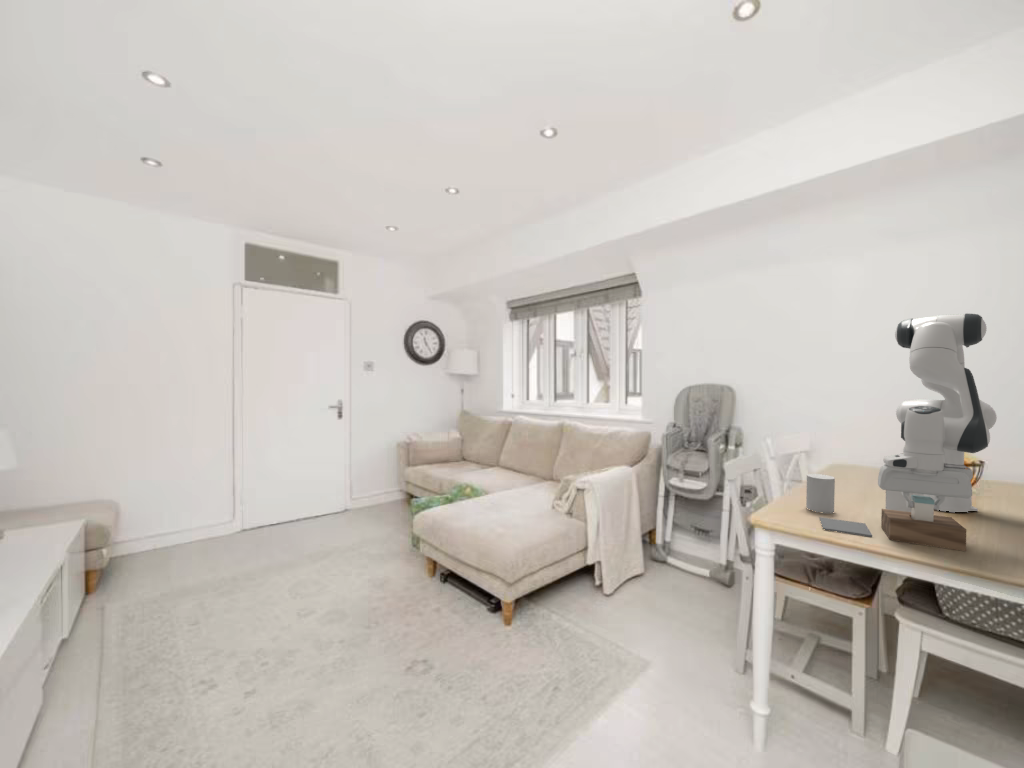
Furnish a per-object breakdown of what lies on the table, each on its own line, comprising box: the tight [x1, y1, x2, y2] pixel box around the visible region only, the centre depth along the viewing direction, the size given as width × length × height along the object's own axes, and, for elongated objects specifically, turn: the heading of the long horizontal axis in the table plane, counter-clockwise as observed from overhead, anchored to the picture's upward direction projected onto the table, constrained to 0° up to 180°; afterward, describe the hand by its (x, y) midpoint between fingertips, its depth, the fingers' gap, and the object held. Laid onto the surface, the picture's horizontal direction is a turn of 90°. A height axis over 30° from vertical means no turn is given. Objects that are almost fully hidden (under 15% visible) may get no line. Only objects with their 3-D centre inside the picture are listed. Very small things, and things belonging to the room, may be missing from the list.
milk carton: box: [885, 490, 924, 512], centre depth 145 cm, size 7×7×19 cm
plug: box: [911, 495, 935, 522], centre depth 129 cm, size 4×4×11 cm
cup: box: [805, 473, 836, 514], centre depth 156 cm, size 8×8×12 cm
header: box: [880, 508, 967, 552], centre depth 129 cm, size 12×16×6 cm
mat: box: [819, 516, 873, 538], centre depth 138 cm, size 12×12×1 cm
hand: (922, 508), depth 129 cm, fingers closed on plug, 4 cm apart
